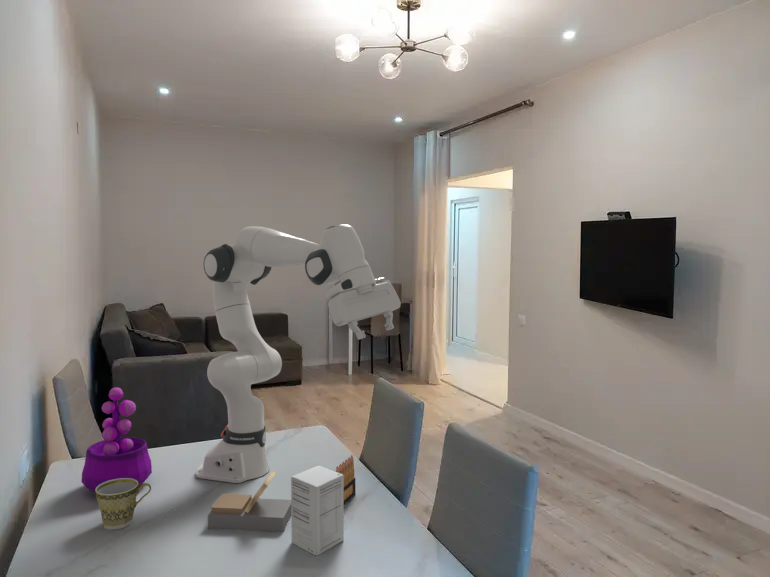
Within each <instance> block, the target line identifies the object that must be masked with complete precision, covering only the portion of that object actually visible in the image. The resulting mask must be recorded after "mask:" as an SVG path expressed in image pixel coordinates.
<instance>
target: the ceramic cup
mask: <svg viewBox="0 0 770 577" xmlns="http://www.w3.org/2000/svg"><path fill="white" fill-rule="evenodd" d="M138 484H139V483H138V481H137V480H135V479H131V478H119V479H113V480H109V481H106V482H104V483H102V484H100V485H98V486H97V487H96V489H95V496H96V501H97V504H98V507H99V511H100V515H101V520H102V523H103V524H102V525H103V528H104V529H106V530H110V531H115V530H120V529H125V528H126V527H128V526H130V525H131V524H132V523H133V517H134V513H135V508H137V506H138V504H140V503H141V502H142V500H143V499H144V498H145V497H146V496H147V495H148V494H150V493H151V491H152V487H151V484H149V483H148V482H147V483H146V482H144V483H142V484H140V485H138ZM145 487H148V488H149V489H148V491H147V492H146V493H145V494H144V495H142V496H141V497H140V499H139V500H137V496H138V494H139V492H140V490H141V489H142V488H145ZM136 500H137V501H136Z"/></svg>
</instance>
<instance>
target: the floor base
mask: <svg viewBox="0 0 770 577" xmlns="http://www.w3.org/2000/svg"><path fill="white" fill-rule="evenodd" d="M252 498H253V496H252V494H243V493H242V494H241V493H240V494H239V493H222V494H221V495H220V496H219V497H218V499H217V500H216V501H215V502H214V503H213V505H212V506H210V509H211V510H210V511H209V512H208V514H207V528H208V529H217V530H218V529H219V530H220V529H221V530H242V531H260V532H262V531H263V532H280V533H281V532H282V533H283V532H284V531H285V530H286V528H287V526H288V524H287V523H289V522H288V521H290V520H291V499H280V498H278V499H277V498H260V497H259V498H258V500H257V501H256V503H255V504H254V505H253V507H252V508H251V509H250V511H249V512H248V513H247V512H245V511H244V510H245V509H246V507H247V506H248V504H249V503H250V501H251V500H252Z"/></svg>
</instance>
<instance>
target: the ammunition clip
mask: <svg viewBox="0 0 770 577" xmlns="http://www.w3.org/2000/svg"><path fill="white" fill-rule="evenodd" d="M354 461H355V460H354V456H353V454H351V455H350V456H348V458H347V459H345V460H344V461H342V463H339V464H338V465H337V466H336V468H335V472H338V473H340V474H343V475H344V506H345V505H347V503H349V501H351V500H352V499H353V498H354V497H355V496H356V495H357V494H356V477H355V464H354V463H355V462H354Z"/></svg>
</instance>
